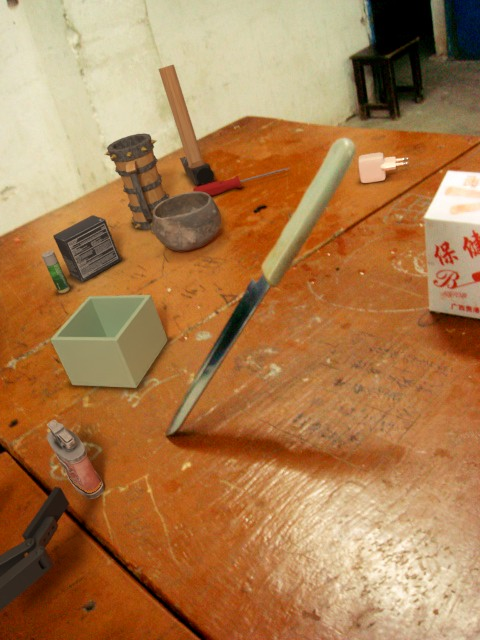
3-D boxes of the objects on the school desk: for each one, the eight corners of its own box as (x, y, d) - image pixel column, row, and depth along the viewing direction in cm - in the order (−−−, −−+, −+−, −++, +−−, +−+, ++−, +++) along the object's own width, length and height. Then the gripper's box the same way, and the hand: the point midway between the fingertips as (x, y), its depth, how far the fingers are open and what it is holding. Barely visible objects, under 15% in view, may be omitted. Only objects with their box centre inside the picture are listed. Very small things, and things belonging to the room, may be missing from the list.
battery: (72, 287, 138) (55, 249, 133) (64, 294, 136) (46, 256, 131) (64, 286, 139) (47, 248, 134) (55, 293, 138) (38, 254, 133)
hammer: (186, 178, 185) (152, 71, 173) (202, 173, 185) (169, 66, 174) (198, 187, 166) (161, 67, 155) (216, 180, 167) (180, 61, 156)
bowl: (149, 254, 143) (135, 214, 137) (198, 223, 151) (187, 184, 145) (189, 266, 133) (176, 223, 128) (240, 232, 141) (229, 191, 136)
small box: (108, 254, 148) (92, 213, 143) (122, 260, 143) (106, 218, 138) (69, 275, 143) (51, 234, 138) (82, 283, 139) (64, 240, 133)
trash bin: (72, 385, 107) (49, 339, 102) (107, 339, 117) (88, 295, 112) (136, 387, 103) (116, 340, 97) (167, 340, 112) (151, 294, 107)
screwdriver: (292, 176, 161) (289, 163, 159) (196, 202, 162) (193, 190, 160) (289, 172, 164) (287, 159, 162) (195, 197, 165) (192, 185, 163)
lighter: (62, 474, 90) (33, 423, 84) (82, 460, 91) (56, 408, 86) (88, 503, 84) (59, 450, 78) (110, 487, 85) (83, 434, 80)
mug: (179, 203, 164) (156, 127, 153) (180, 231, 150) (154, 149, 139) (131, 215, 165) (104, 141, 154) (127, 244, 150) (97, 164, 140)
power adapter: (409, 170, 148) (407, 146, 145) (410, 178, 144) (408, 154, 141) (361, 177, 151) (358, 153, 148) (360, 185, 147) (357, 161, 144)
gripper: (-184, 662, 66) (-49, 499, 82) (3, 720, 56) (115, 522, 72) (-230, 620, 62) (-78, 458, 78) (-36, 675, 52) (92, 477, 68)
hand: (15, 489), depth 75 cm, fingers open, 13 cm apart
